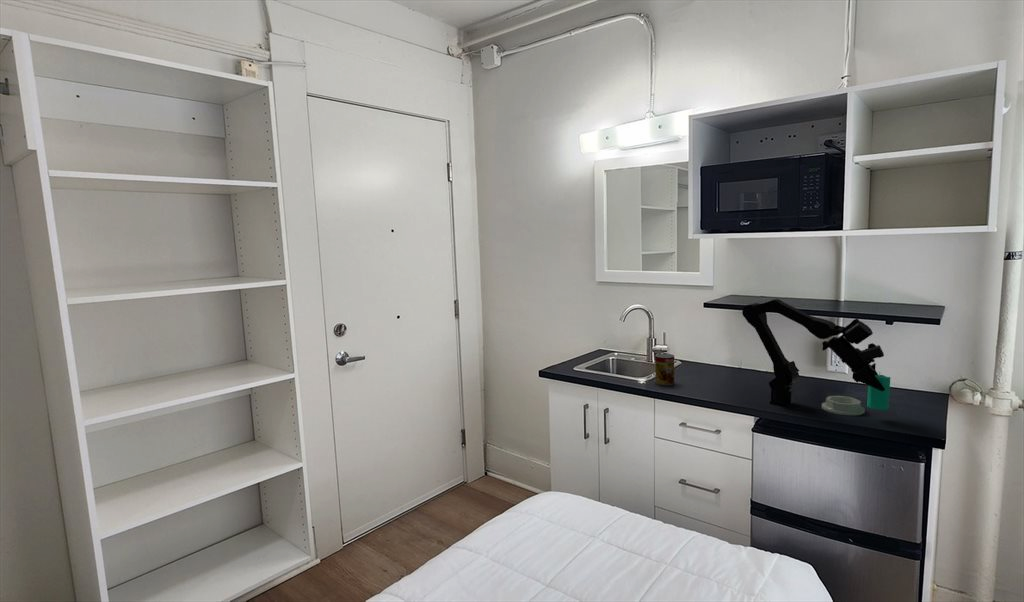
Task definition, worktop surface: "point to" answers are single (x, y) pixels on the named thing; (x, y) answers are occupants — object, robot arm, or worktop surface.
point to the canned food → (664, 369)
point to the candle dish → (843, 406)
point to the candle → (879, 394)
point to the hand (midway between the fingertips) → (883, 388)
